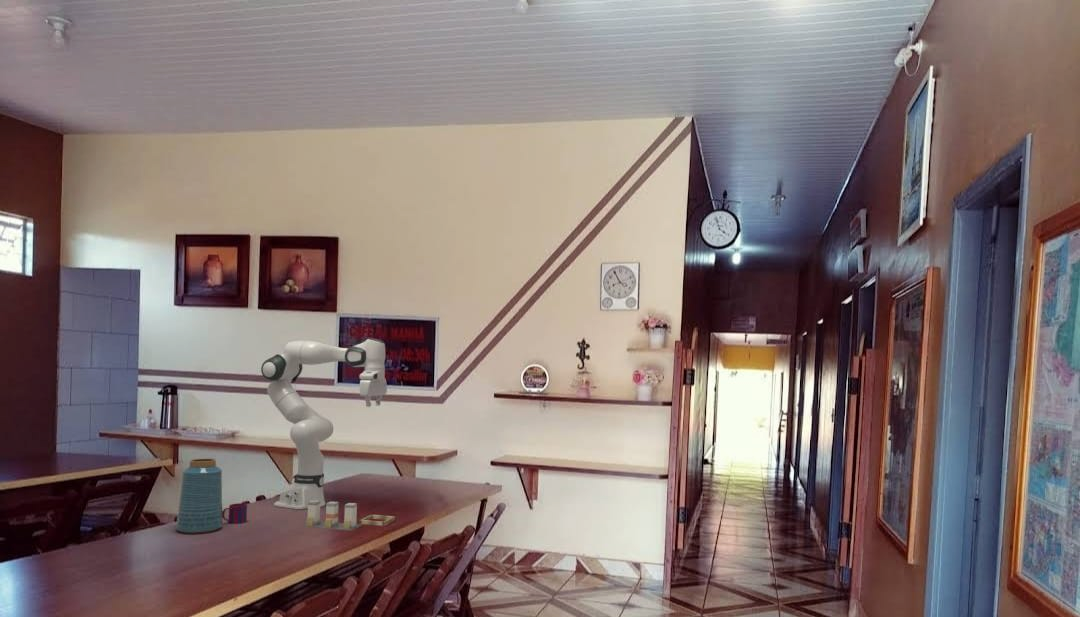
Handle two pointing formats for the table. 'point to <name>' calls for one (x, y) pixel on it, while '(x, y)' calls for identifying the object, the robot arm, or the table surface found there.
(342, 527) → the fuse board
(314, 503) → the block
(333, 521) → the fuse marked
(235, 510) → the mug
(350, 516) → the fuse right
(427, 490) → the table surface
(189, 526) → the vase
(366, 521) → the tray
